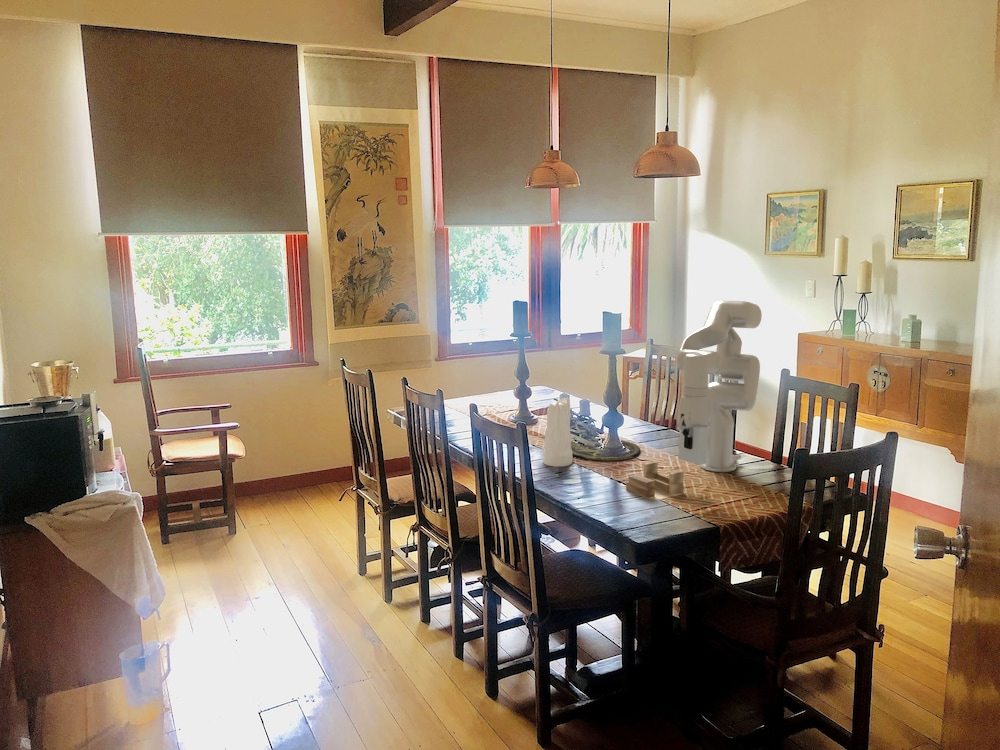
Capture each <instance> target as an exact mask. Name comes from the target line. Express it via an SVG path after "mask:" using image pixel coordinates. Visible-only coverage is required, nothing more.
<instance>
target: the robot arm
mask: <svg viewBox="0 0 1000 750" xmlns="http://www.w3.org/2000/svg"><path fill="white" fill-rule="evenodd" d="M761 321H762V310H761V308H760V306H759V305H758V304H756V303H752V302H749V301H745V300H718V301H715V302H714V303H713V304H712V305H711V307H710V310H709V312H708V315H707V316H706V320H705V321H704V325H703V326H702V327H701V328H700V329H698V330H696V331H694V332H692V333H691V334H689V335H688V336H687V337H686V338H685V339H684V340H683V341H682V343H681V345H680V347H679V351H678V353H677V355H676V361H675V362H676V367H677V369H678V370H679V371H681V372H683V386H682V387H683V388H682V396H680V399H679V402H678V403H679V404H678V411H677V418H676V419H677V422H676V423H677V427H676V429H677V431H679V432H680V431H681V432H682V434H683V436H684V448H687V449H692V439H693V437H691V435H692V428H693V427H697V426H705V427H708V435H707V459H706V464H702V465H699V466H700V468H701V469H703V470H705V471H710V472H715V473H717V472H718V473H728V472H734V471H735V470H736V469H737V464H735V461H739V460H741V459H742V455H741V454H733V446H734V430H735V429H734V428H735V421H734V417H733V415H732V414H731V412H730V411H729V410H733V411H743V412H744V411H745V412H748V411H751V410H753V409H754V407H755V405H756V400H757V395H758V394H757V393H758V388H759V387H758V386H759V381H760V375H761V373H760V371H761V362H760V360H759V358H758V357H757V356H755V355H753V354H746V353H745V354H744V353H743V354H742V353H741V352H742V346H743V343H742V342H743V341H742V338H741V337H740V335H739V334H738V332H737V331H736V330H735V329H734V328H736V329H737V328H738V329H756V328H758V327H759V325H760V323H761ZM714 346H716V350H714V351H713V350H703V349H706V348H710V347H714ZM709 375H714V377H716V378H719V380H720V379H722V380H728V381H729V380H730V381H740V383H739V382H730V381H729V382H728V381H712V382H709ZM741 382H743V383H741ZM683 426H684V428H683ZM687 429H688V431H687Z"/></svg>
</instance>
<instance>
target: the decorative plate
mask: <svg viewBox="0 0 1000 750" xmlns="http://www.w3.org/2000/svg"><path fill="white" fill-rule="evenodd" d="M600 438H601V439H602V443H603V441H604V440H605V438H606V437H600ZM620 440H621V442H622V444H623V446H624V447H625V448H627V449H629V450H630V454H629V455H626V456H623V457H613V456H612V457H611V456H604V455H601V454H600V453H599V452H598V450H597V449H595V448H592V447H589V446H586V445H583V444H579V443H575V442H573V441H574V440H571V449H572V456H573V457H572V458H574V457H576V458H575V459H577V458H580V459H579V460H582V459H584V460H583V461H587V460H592V461H591V462H598V461H600V462H605V463H607V462H608V463H609V462H611V463H612V462H622V461H628V460H632V459H635V458H637V457H639V456H640V455H641V448H640V447H639V446H638V444H635V443H634V442H631V441H628V440H623V439H620Z"/></svg>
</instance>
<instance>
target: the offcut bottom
mask: <svg viewBox="0 0 1000 750" xmlns="http://www.w3.org/2000/svg"><path fill="white" fill-rule="evenodd" d="M625 483H626V484H625V486H626V491H627V492H630V493H632V492H633V494H635V495H637V494H638V495H637V496H640V497H642V498H644V497H645V499H647V498H649V497H654V496H655V489H654V488H653V489H649V490H645V489H642V488H639V487H636V486H633V485H631V484H629V481H626V482H625Z"/></svg>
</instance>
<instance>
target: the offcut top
mask: <svg viewBox="0 0 1000 750" xmlns="http://www.w3.org/2000/svg"><path fill="white" fill-rule="evenodd" d="M628 482H629V484H631V485H633V486H636V487H639V488H642V489H645V490H649V489H653V488H654V480H651V479H648V478H645V477H644V476H642V475H639V474H634V475H629V476H628Z"/></svg>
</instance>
